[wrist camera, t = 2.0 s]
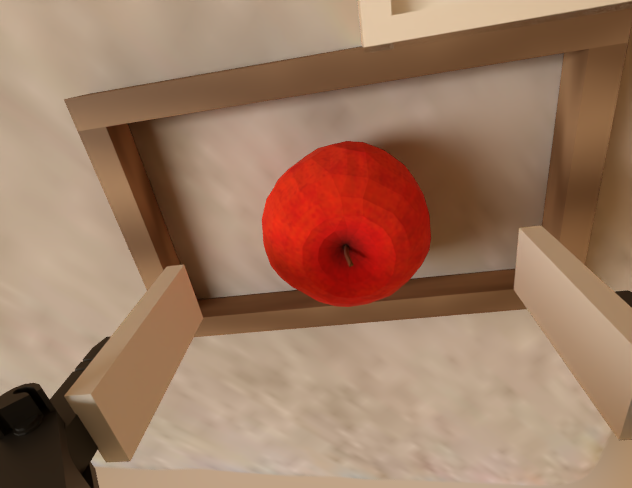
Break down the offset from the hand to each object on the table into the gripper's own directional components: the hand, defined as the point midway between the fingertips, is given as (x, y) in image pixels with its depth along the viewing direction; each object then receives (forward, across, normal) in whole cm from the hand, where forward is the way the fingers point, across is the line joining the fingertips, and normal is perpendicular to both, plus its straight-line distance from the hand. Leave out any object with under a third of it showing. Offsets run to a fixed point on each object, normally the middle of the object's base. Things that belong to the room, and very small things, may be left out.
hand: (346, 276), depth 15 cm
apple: (+8, 0, 0) cm, 8 cm away
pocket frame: (+8, 0, 0) cm, 8 cm away
